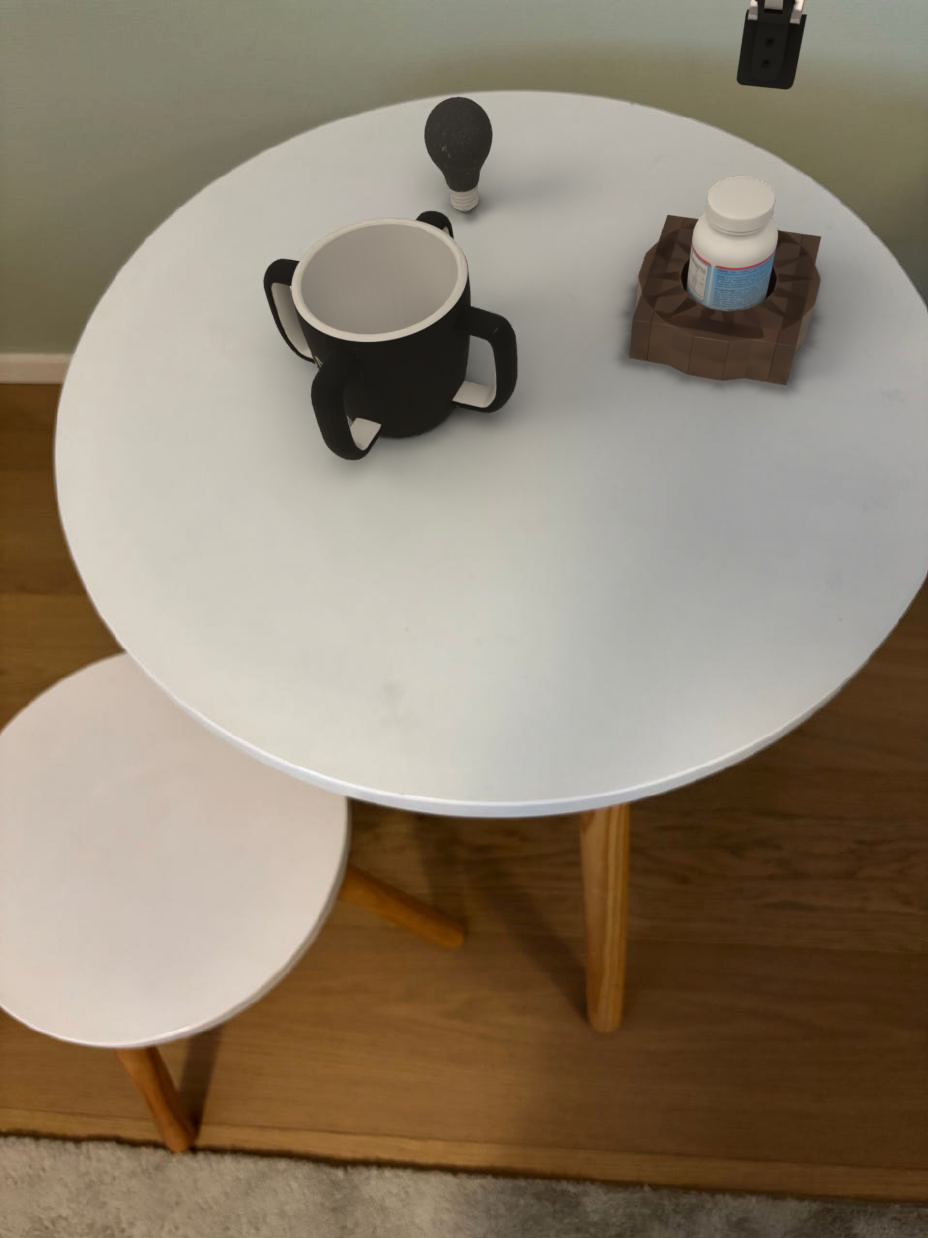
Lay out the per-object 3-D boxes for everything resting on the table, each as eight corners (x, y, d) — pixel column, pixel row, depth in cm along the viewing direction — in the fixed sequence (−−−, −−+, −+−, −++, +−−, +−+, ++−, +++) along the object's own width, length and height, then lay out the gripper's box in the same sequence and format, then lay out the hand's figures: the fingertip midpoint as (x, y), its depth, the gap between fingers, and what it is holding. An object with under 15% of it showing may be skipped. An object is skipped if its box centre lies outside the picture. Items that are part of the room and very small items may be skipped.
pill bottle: (773, 305, 82) (801, 182, 72) (740, 355, 80) (764, 235, 70) (703, 281, 84) (721, 158, 74) (668, 329, 82) (682, 209, 72)
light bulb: (431, 192, 93) (417, 86, 84) (493, 184, 92) (486, 77, 84) (436, 233, 90) (422, 128, 81) (500, 225, 90) (493, 119, 81)
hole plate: (820, 272, 84) (831, 231, 80) (793, 393, 77) (804, 354, 74) (657, 248, 87) (661, 207, 83) (618, 362, 80) (621, 324, 77)
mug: (285, 348, 84) (246, 226, 74) (475, 301, 85) (463, 174, 75) (320, 503, 76) (282, 389, 66) (531, 449, 77) (526, 328, 66)
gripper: (908, -252, 42) (821, 131, 57) (947, -407, 50) (862, -37, 65) (723, -257, 44) (685, 116, 59) (790, -406, 52) (742, -45, 67)
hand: (778, 36), depth 62 cm, fingers open, 9 cm apart
